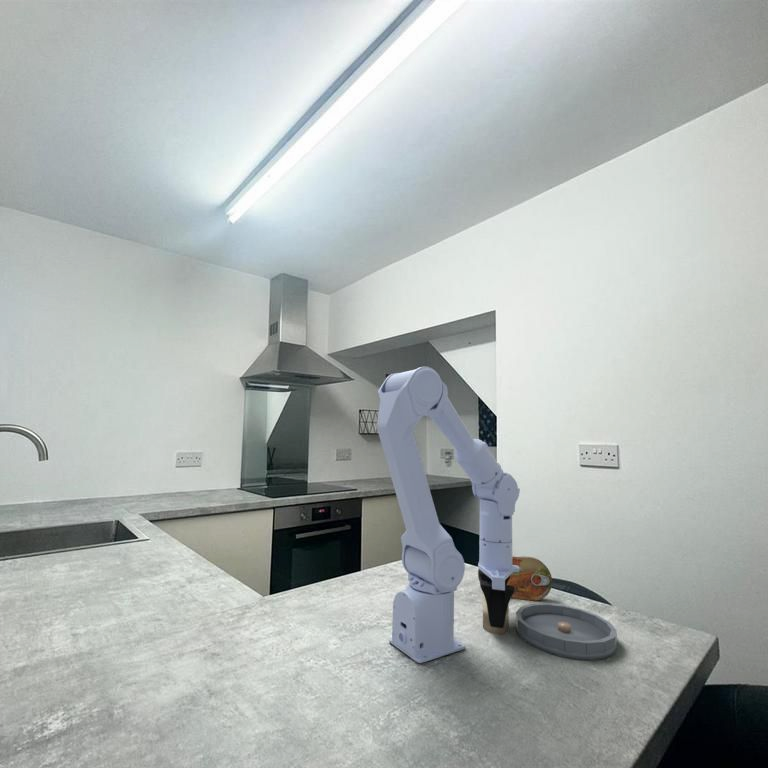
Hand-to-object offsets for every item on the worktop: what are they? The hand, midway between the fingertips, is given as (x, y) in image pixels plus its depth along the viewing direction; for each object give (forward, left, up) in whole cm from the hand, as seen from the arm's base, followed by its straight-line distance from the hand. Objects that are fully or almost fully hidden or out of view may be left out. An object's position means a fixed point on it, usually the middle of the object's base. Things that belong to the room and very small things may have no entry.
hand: (495, 619), depth 74 cm
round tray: (+8, -8, -1) cm, 11 cm away
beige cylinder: (0, 0, -1) cm, 1 cm away
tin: (+16, +9, -2) cm, 18 cm away
